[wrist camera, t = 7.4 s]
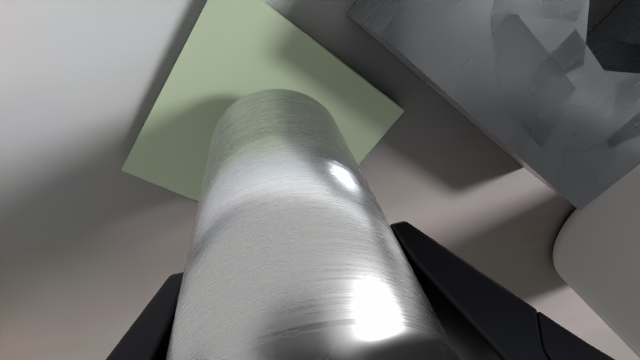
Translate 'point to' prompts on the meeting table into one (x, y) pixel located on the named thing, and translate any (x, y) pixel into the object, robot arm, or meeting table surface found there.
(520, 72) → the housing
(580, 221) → the cylinder vase
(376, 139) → the mat
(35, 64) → the meeting table surface
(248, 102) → the silver upright cylinder
